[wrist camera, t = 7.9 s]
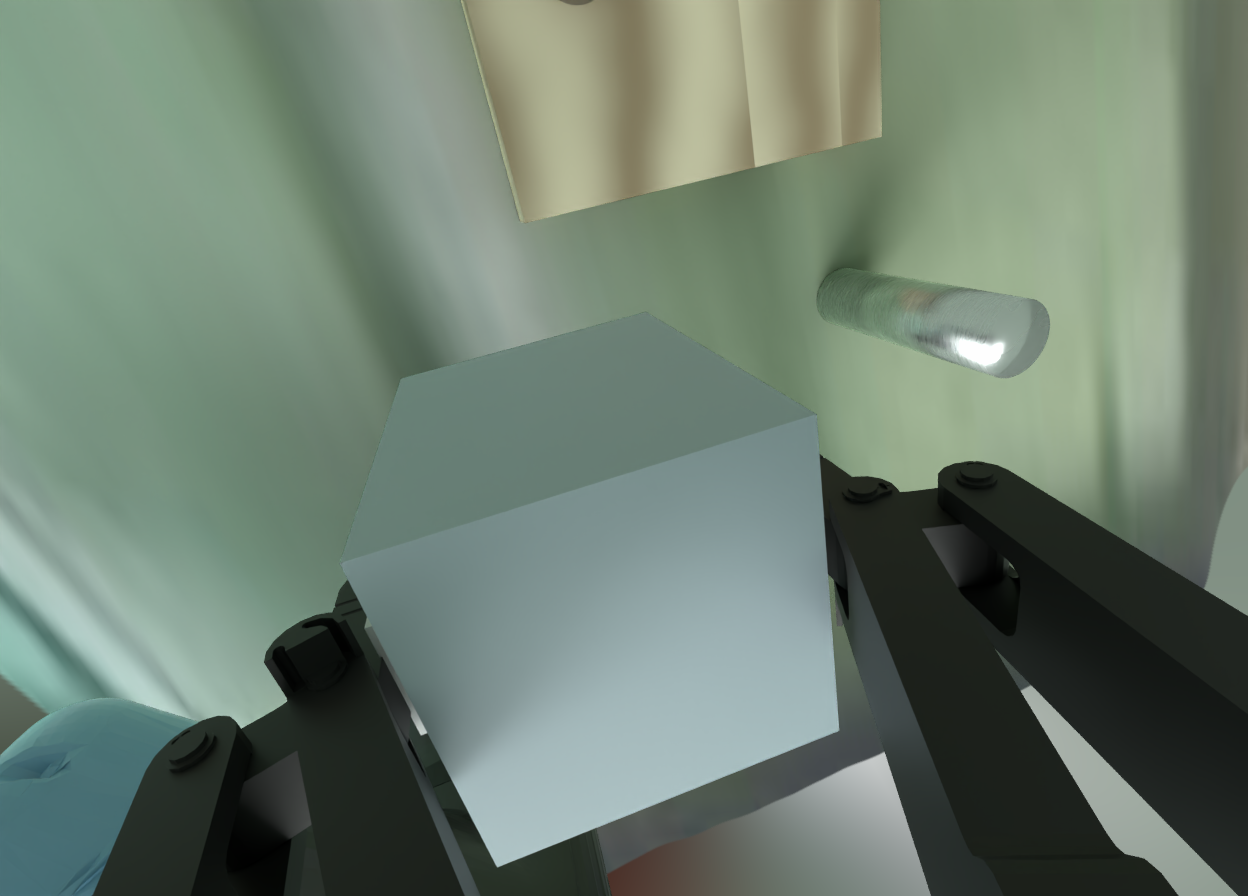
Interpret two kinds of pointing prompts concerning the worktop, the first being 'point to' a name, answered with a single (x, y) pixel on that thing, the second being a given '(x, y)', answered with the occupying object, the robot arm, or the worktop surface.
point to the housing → (597, 575)
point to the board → (668, 90)
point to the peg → (939, 319)
